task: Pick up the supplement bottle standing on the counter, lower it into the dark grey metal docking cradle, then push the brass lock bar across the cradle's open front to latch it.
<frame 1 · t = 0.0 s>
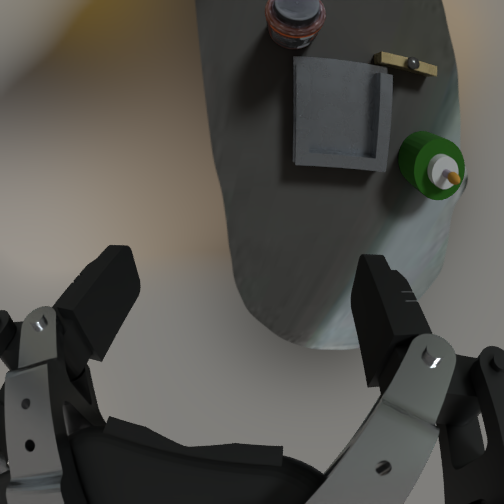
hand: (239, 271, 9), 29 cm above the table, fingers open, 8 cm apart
supplement bottle: (292, 30, 26), on the table
lock bar: (407, 64, 25), point 2 cm above the table, slide at 8.5 cm
candle: (422, 158, 33), on the table
dock: (339, 111, 31), on the table
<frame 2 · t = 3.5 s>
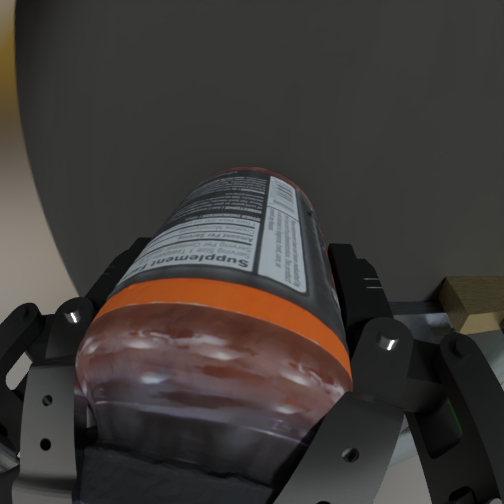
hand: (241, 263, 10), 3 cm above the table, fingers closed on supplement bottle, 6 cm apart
supplement bottle: (250, 227, 12), on the table, touching gripper
lock bar: (502, 307, 11), point 2 cm above the table, slide at 8.5 cm
dock: (340, 376, 17), on the table
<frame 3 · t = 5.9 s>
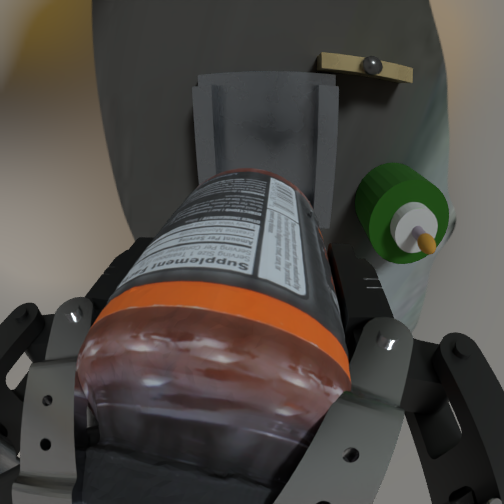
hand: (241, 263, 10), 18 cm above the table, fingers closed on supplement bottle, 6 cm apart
supplement bottle: (250, 228, 12), point 15 cm above the table, touching gripper
lock bar: (366, 67, 18), point 2 cm above the table, slide at 8.5 cm
candle: (391, 200, 26), on the table
dock: (267, 144, 25), on the table
when the fingers open (5 cm above the table, at t = 8.7 s): supplement bottle drops 2 cm, resting on dock.
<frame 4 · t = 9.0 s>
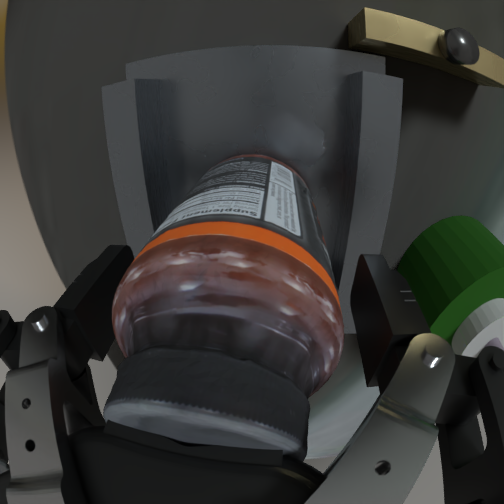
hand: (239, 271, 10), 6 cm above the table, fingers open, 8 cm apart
supplement bottle: (253, 208, 14), point 1 cm above the table, touching dock
lock bar: (441, 49, 7), point 2 cm above the table, slide at 8.5 cm
candle: (445, 269, 16), on the table
dock: (254, 185, 14), on the table
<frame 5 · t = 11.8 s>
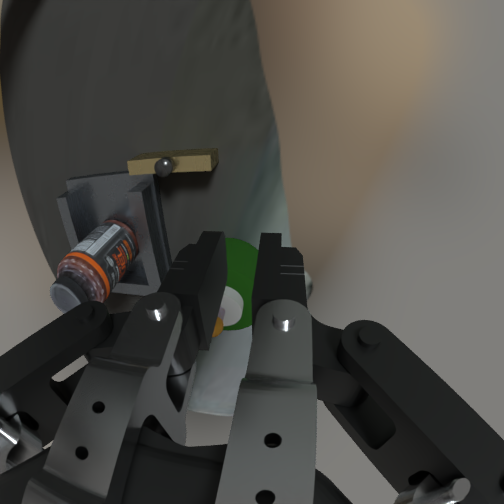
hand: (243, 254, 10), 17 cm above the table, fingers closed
supplement bottle: (119, 239, 30), point 1 cm above the table, touching dock
lock bar: (170, 162, 24), point 2 cm above the table, slide at 8.5 cm
candle: (231, 268, 32), on the table
dock: (120, 229, 31), on the table
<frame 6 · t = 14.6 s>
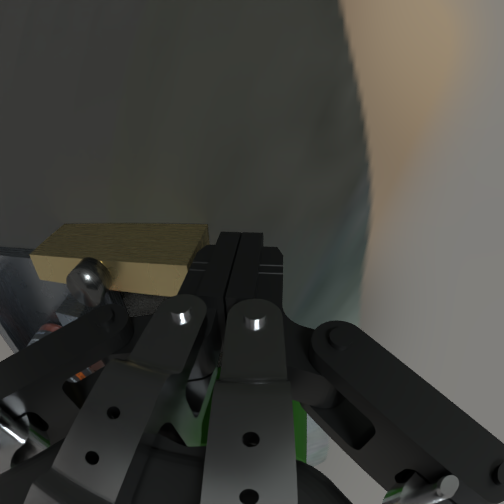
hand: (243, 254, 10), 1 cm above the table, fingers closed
supplement bottle: (73, 346, 17), point 1 cm above the table, touching dock
lock bar: (106, 260, 11), point 2 cm above the table, slide at 7.5 cm, touching gripper
candle: (249, 394, 19), on the table
dock: (73, 330, 17), on the table
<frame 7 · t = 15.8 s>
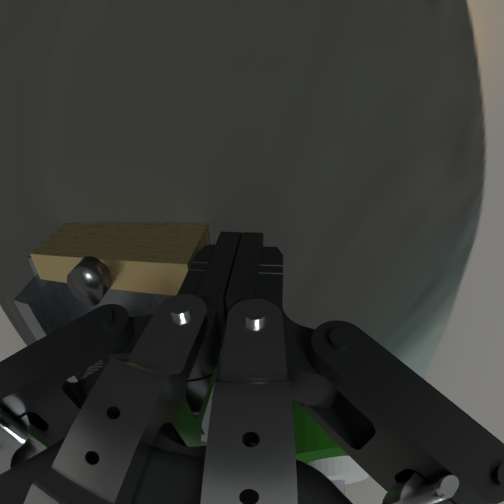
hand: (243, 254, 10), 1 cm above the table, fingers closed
lock bar: (107, 259, 11), point 2 cm above the table, slide at 1.4 cm, touching gripper
candle: (332, 395, 18), on the table
dock: (142, 344, 17), on the table
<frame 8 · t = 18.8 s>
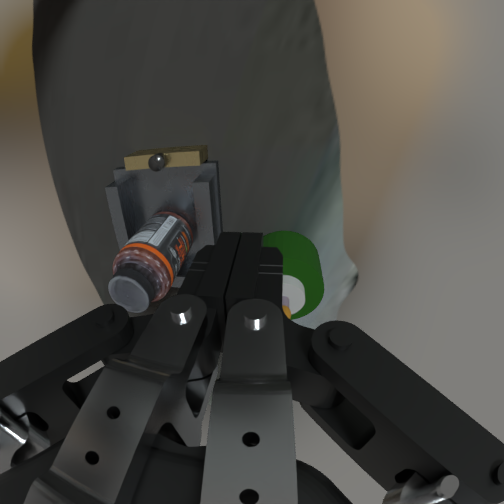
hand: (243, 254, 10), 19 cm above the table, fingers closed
supplement bottle: (170, 232, 32), point 1 cm above the table, touching dock
lock bar: (163, 158, 26), point 2 cm above the table, slide at 1.0 cm
candle: (284, 261, 33), on the table
dock: (171, 221, 32), on the table
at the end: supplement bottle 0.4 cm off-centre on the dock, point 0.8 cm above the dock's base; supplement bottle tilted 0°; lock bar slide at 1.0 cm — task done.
